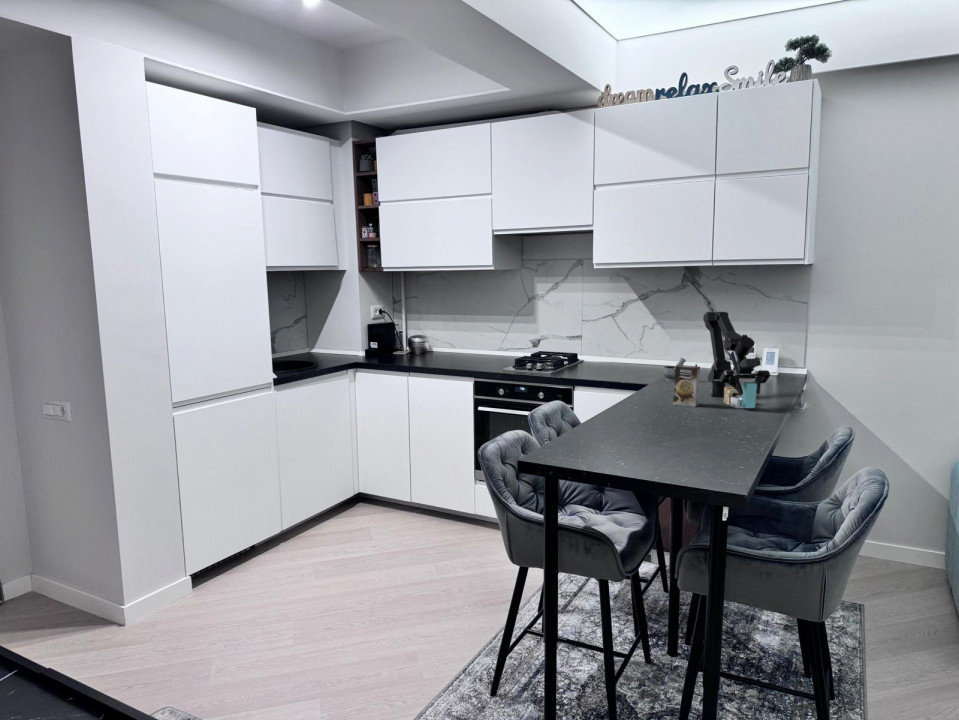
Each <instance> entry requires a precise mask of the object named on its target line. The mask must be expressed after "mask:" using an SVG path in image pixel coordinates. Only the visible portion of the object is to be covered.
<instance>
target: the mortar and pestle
mask: <svg viewBox="0 0 959 720" xmlns="http://www.w3.org/2000/svg"><path fill="white" fill-rule="evenodd" d="M686 361H687V360H686V359H685V358H684V357H681V358H680V359H679V361H678V362H677V364H676V365H675V366H677V365H685V364H684V363H686ZM675 366H674V365H664V366H663V365H662V373H663V376H664V377H665V382H668V381H669V383H674V382H675Z"/></svg>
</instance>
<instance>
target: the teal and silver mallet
mask: <svg viewBox="0 0 959 720" xmlns="http://www.w3.org/2000/svg"><path fill="white" fill-rule="evenodd" d="M741 387H742V390H743V394H742V396H741V395H739V394H736V393H735V394H733V395H732V397H735V398H737V399H739V400H740V404H741V406H742V407H744V408H743V409H755V408H756V401H757V400H756V398H757V393H756V388H757V384H756V383H754V381H742V384H741Z"/></svg>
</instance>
